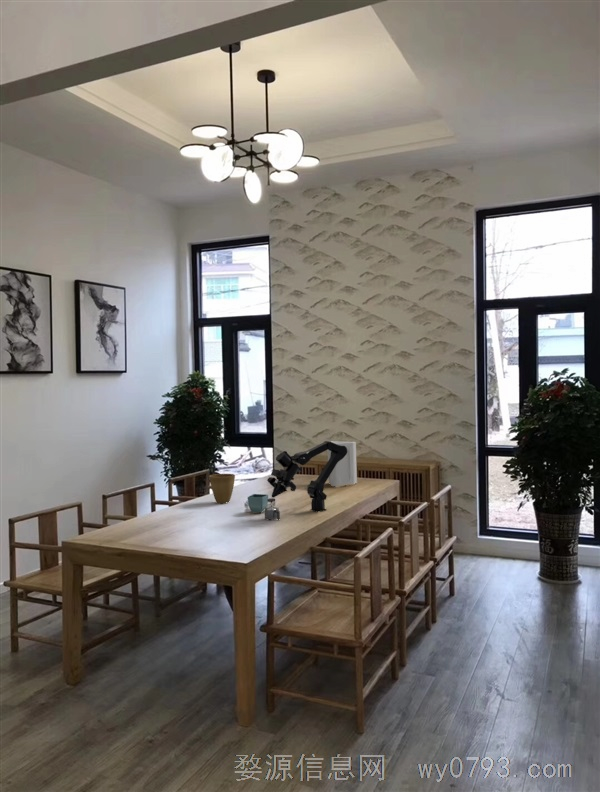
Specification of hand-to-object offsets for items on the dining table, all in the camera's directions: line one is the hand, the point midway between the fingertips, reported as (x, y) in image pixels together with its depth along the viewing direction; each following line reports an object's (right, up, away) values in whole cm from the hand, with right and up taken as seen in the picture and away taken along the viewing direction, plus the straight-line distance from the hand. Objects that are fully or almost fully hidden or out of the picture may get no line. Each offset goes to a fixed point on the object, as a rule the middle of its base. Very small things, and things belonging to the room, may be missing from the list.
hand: (272, 497), depth 323 cm
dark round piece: (0, -7, 0) cm, 7 cm away
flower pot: (-8, -11, +16) cm, 21 cm away
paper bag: (+40, -7, +93) cm, 101 cm away
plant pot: (-31, -11, +47) cm, 57 cm away
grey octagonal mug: (+1, -11, -1) cm, 11 cm away
